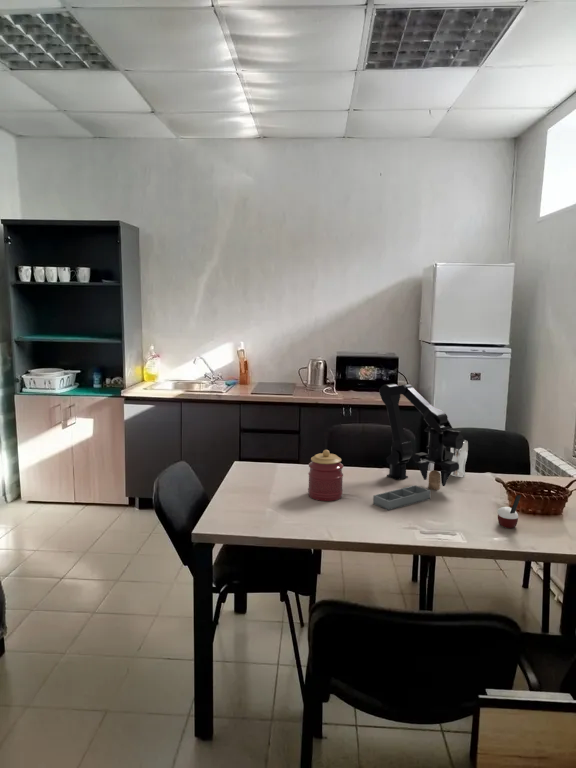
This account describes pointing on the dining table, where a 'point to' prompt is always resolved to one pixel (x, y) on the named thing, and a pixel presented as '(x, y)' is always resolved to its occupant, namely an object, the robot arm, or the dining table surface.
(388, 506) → the grey compartment tray
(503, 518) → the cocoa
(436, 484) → the brown rounded cylinder
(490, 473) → the dining table surface
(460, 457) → the beer glass
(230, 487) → the dining table surface
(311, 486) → the canister
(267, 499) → the dining table surface
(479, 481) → the dining table surface
